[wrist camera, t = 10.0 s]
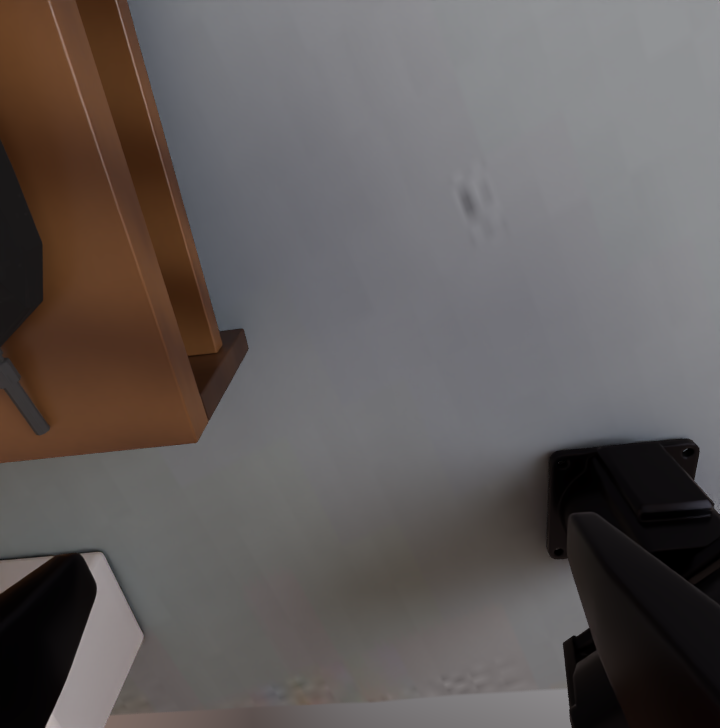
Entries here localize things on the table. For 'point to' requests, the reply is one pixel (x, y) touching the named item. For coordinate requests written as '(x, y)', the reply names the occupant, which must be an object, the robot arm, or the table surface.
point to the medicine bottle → (91, 646)
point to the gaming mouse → (18, 282)
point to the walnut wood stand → (102, 244)
